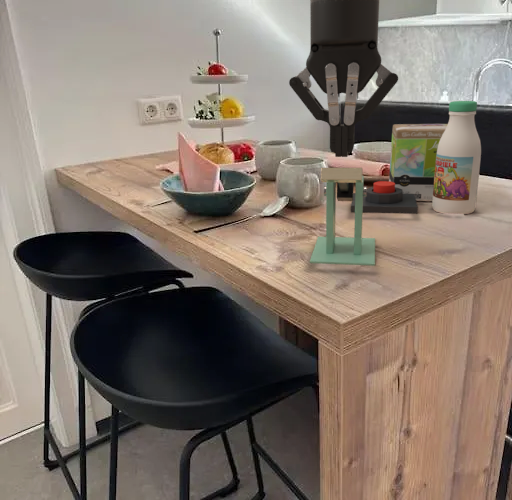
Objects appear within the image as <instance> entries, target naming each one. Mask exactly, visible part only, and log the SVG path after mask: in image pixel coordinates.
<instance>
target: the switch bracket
mask: <svg viewBox="0 0 512 500" xmlns="http://www.w3.org/2000/svg"><path fill="white" fill-rule="evenodd" d="M364 182H365V176H364V175H362V183H355V190H354V193H355V212H354V228H353V229H354V232H353V234H354V236H353V237H347V236H336V211H337V210H336V208H337V205H336V200H337V182H325V185H324V187H323V196H324V197H326V199H325V201H326V202H325V203H326V205H325V211H326V212H325V213H326V214H325V236H317V239H316V241H315V245H314V247H313V251H312V253H311V256H310V259H309V264H323V265H348V266H371V267H375V266H376V238H375V237H363V219H364V218H363V214H364V213H363V196H367V189H368V186H364Z"/></svg>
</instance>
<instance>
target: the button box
mask: <svg viewBox="0 0 512 500" xmlns="http://www.w3.org/2000/svg"><path fill="white" fill-rule="evenodd" d="M373 187H374V186H371V187H367V196H363V214H408V215H410V214H411V215H413V214H415V215H417V214H418V213H419V211H418V210H419V206H418V201H416V199H415V195H414V194H403V190H402V189H400V188H397V187H395V192H394V193H376V192H373ZM350 213H355V192H353V201H351V204H350Z"/></svg>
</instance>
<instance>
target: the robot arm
mask: <svg viewBox="0 0 512 500" xmlns="http://www.w3.org/2000/svg"><path fill="white" fill-rule="evenodd" d="M309 2H310V9H309V11H310V17H309V18H310V20H309V21H310V26H309V27H310V30H309V31H310V35H309V36H310V49H309V50H310V51H309V54H308V56H307V59H306V61H305V67H304V68H303V69H302V70H301V71H300V72H299V73H298V74H296V75H295V76H292V77H291V78H290V79H289V81H288V84H289V87H290V89H292V90H293V92H294V93H295V94H296V95H297V97H298V98H299V99H300V101H301V102H302V103H303V105H304V106H305V107H306V108H307V110H308V111H309V112H310V114H311V115H312V116H313V118H314V119H315V120H316V121H322V122H325V123H327V125H329V149H330V152H331V153H335V154H334V156H335V158H348V156H349V153H353V151H354V148H355V127H356V124H357V123H359V122H361V121H363V120H367V119H369V118H370V116H371V115H372V114H373V113H374V111H375V110H377V108H378V106H379V105H380V104H382V102H383V100H384V99H385V98H386V97H387V96H388V94H389V93H390V91H392V89H393V88H394V87H395V85H396V84H397V83H398V82H399V75H398V74H397V73H395V72H392V71H390V70H389V69H388V68H387V67H386V66H384V65H383V64H382V57H381V54H380V52H379V49H378V40H379V19H380V17H379V15H380V0H310V1H309ZM376 73H377V77H376V79H375V85H376V86H377V89H375V91H374V92H373V94H371V96H370V97H369V98H368V100H367V101H366V102H365V103H364V105H363V106H362V107H361V108H358V109H357V102H358V94H359V93H360V92H362V91H363V90H364V89H365V88H366V86H367V85H368V84H369V83H370V81H371V80H372V78H373V77H374V76H375V74H376ZM311 77H312V79H313V80H314V81H315V83H316V84H317V85H318V87H319V88H320V90H321V91H322V92H323V94H326V100H327V107H328V108H327V109H325V108H324V106H323V105H322V104H321V102H320V101H319V100H318V99H317V97H316V96H315V94H313V92H312V91H311V90H310V89H311V87H312V85H313V84H312V81H311ZM341 94H345V100H344V112H343V123H342V114H341V113H342V112H341V111H342V110H341Z"/></svg>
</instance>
